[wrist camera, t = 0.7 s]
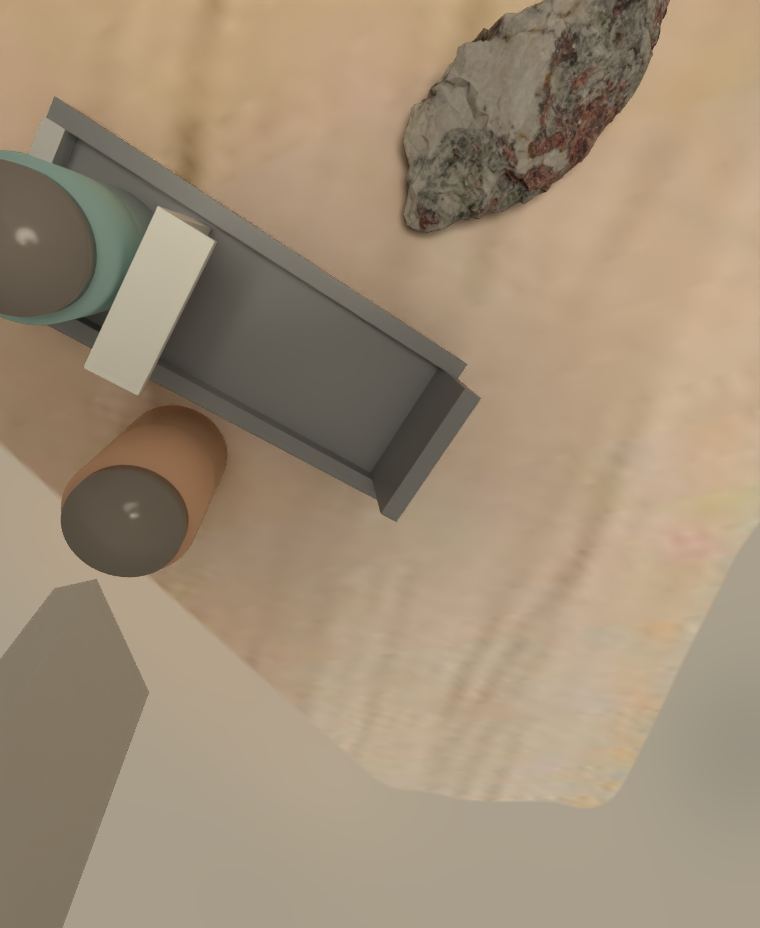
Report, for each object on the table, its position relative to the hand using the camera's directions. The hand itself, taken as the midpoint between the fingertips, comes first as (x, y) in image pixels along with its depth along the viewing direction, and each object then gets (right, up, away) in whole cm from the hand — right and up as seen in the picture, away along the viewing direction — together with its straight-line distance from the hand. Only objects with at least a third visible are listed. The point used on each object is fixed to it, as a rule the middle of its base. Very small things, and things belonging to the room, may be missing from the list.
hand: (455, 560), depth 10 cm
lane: (-9, +10, +21) cm, 25 cm away
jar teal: (-16, +13, +18) cm, 27 cm away
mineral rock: (+6, +21, +19) cm, 29 cm away
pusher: (-12, +11, +19) cm, 25 cm away
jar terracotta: (-14, +3, +23) cm, 27 cm away
